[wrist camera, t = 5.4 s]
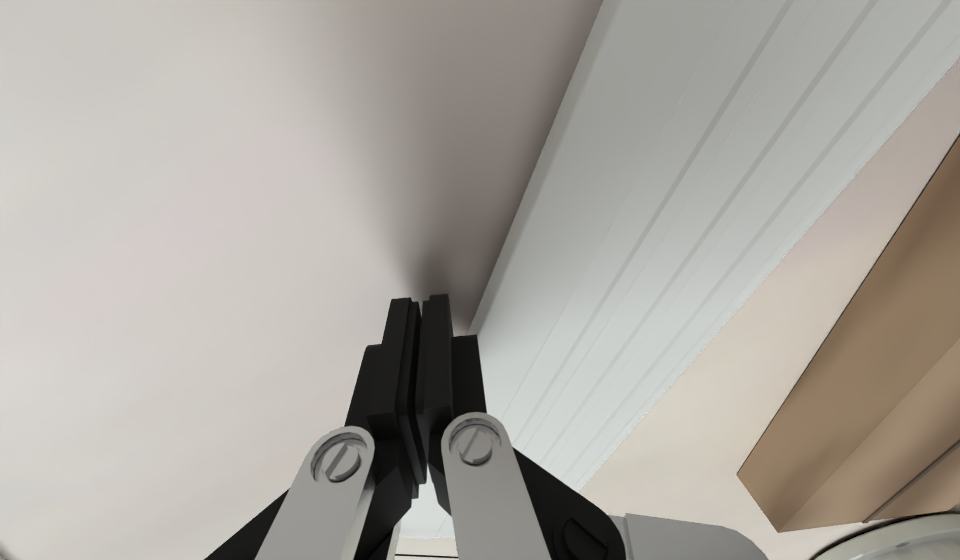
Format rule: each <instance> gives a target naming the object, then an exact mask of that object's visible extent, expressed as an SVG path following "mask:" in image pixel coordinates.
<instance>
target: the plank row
mask: <svg viewBox="0 0 960 560" xmlns="http://www.w3.org/2000/svg"><path fill="white" fill-rule="evenodd" d="M737 476H738V478H739V479H740V480H741V482H742V483H743V485H744V486H745V487H746V489H747V490H748V492H749V493H750V494H751V496H752V497H753V499H754V500H755V501H756V503H757V504H758V506H759V507H760V508H761V510H762V511H763V513H764V514H765V515H766V517H767V518H768V520H769V521H770V522H771V524H772V525H773V526H774V528H775V529H776V531H777V532H778V533H780V532H788V531H796V530H803V529H811V528H819V527H826V526H834V525H842V524H849V523H857V522H862V523H868V522H869V521H872V520H880V519H888V518H895V517H903V516H911V515H918V514H926V513H934V512H941V511H948V510H950V509H951V508H953V507H954V506H955V505H957V504H958V503H960V136H959V138H958V139H957V141H956V142H955V144H954V145H953V147H952V148H951V150H950V151H949V153H948V154H947V156H946V157H945V159H944V161H943V162H942V164H941V165H940V167H939V168H938V170H937V171H936V173H935V174H934V176H933V177H932V179H931V180H930V182H929V183H928V185H927V186H926V188H925V189H924V191H923V192H922V194H921V195H920V197H919V199H918V200H917V202H916V203H915V205H914V206H913V208H912V209H911V211H910V212H909V214H908V215H907V217H906V218H905V220H904V221H903V223H902V224H901V226H900V227H899V229H898V230H897V232H896V233H895V235H894V237H893V238H892V240H891V241H890V243H889V244H888V246H887V247H886V249H885V250H884V252H883V253H882V255H881V256H880V258H879V259H878V261H877V262H876V264H875V265H874V267H873V268H872V270H871V271H870V273H869V275H868V276H867V278H866V279H865V281H864V282H863V284H862V285H861V287H860V288H859V290H858V291H857V293H856V294H855V296H854V297H853V299H852V300H851V302H850V303H849V305H848V306H847V308H846V309H845V311H844V313H843V314H842V316H841V317H840V319H839V320H838V322H837V323H836V325H835V326H834V328H833V329H832V331H831V332H830V334H829V335H828V337H827V338H826V340H825V341H824V343H823V344H822V346H821V347H820V349H819V351H818V352H817V354H816V355H815V357H814V358H813V360H812V361H811V363H810V364H809V366H808V367H807V369H806V370H805V372H804V373H803V375H802V376H801V378H800V379H799V381H798V382H797V384H796V385H795V387H794V389H793V390H792V392H791V393H790V395H789V396H788V398H787V399H786V401H785V402H784V404H783V405H782V407H781V408H780V410H779V411H778V413H777V414H776V416H775V417H774V419H773V420H772V422H771V423H770V425H769V427H768V428H767V430H766V431H765V433H764V434H763V436H762V437H761V439H760V440H759V442H758V443H757V445H756V446H755V448H754V449H753V451H752V452H751V454H750V455H749V457H748V458H747V460H746V461H745V463H744V465H743V466H742V468H741V469H740V471H739V472H738V474H737Z"/></svg>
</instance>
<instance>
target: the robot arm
mask: <svg viewBox="0 0 960 560" xmlns="http://www.w3.org/2000/svg"><path fill="white" fill-rule="evenodd" d="M427 464H428V468H429V472H430V476H431V480H432V483H433V484H434V488H435V493H436V497H437V501H438V504H439V505H440V506H441V507H442V508H443V509H444V510H445V511H446V512H447V513H448V514H449V515H450V516H451V517H452V521H453V527H454V533H455V540H456V546H457V552H458V559H459V560H768V559H767V557H766V555H765V554H764V553H763V552H762V551H761V550H760V549H759V548H758V547H757V546H756V545H755V544H754V543H753V542H752V541H751V540H750V539H748V538H747V537H745V536H744V535H742V534H740V533H739V532H737V531H735V530H732V529H729V528H726V527H723V526H716V525H709V524H701V523H694V522H687V521H679V520H672V519H665V518H657V517H650V516H643V515H635V514H628V513H625V516H624V517H619V516H612V515H606V514H605V513H604V512H603V511H602V510H601V509H600V508H598V507H597V506H595V505H594V504H593V503H591V502H590V501H588V500H587V499H586V498H584V497H583V496H581V495H580V494H579V493H577V492H576V491H574V490H573V489H571V488H570V487H569V486H567V485H566V484H564V483H563V482H562V481H560V480H559V479H557V478H556V477H555V476H553V475H552V474H550V473H549V472H548V471H546V470H545V469H543V468H542V467H540V466H539V465H538V464H536V463H535V462H533V461H532V460H531V459H529V458H528V457H526V456H525V455H524V454H522V453H521V452H519V451H518V450H517V449H515V448H514V447H512V445H511V442H510V439H509V436H508V433H507V431H506V429H505V428H504V426H503V424H502V423H501V422H500V421H499V420H498V419H497V418H495V417H493V416H491V415H489V414H487V409H486V401H485V393H484V385H483V377H482V370H481V362H480V354H479V346H478V338H477V334H476V335H467V336H457V337H454V336H453V328H452V320H451V312H450V304H449V296H448V294H441V295H430V300H428V301H423V309H422V318H421V312H420V307H419V303H418V302H412V299H411V298H410V297H409V298H398V299H392V300H391V303H390V308H389V312H388V317H387V321H386V326H385V331H384V335H383V340H382V344H377V345H368V346H367V347H366V349H365V352H364V356H363V360H362V363H361V367H360V371H359V374H358V378H357V382H356V385H355V389H354V393H353V396H352V400H351V404H350V407H349V411H348V415H347V418H346V422H345V426H344V427H341V428H338V429H336V430H333V431H331V432H329V433H328V434H326V435H325V436H323V437H322V438H320V439H319V440H318V441H317V442H316V443H315V444H314V445H313V446H312V448H311V449H310V451H309V453H308V454H307V456H306V457H305V459H304V461H303V463H302V465H301V467H300V469H299V471H298V473H297V475H296V477H295V479H294V481H293V483H292V485H291V487H290V488H289V489H288V490H287V491H286V492H285V493H283V494H282V495H281V496H280V497H279V498H277V499H276V500H275V501H274V502H273V503H271V504H270V505H269V506H268V507H267V508H265V509H264V510H263V511H262V512H261V513H259V514H258V515H257V516H256V517H255V518H253V519H252V520H251V521H250V522H249V523H247V524H246V525H245V526H244V527H243V528H241V529H240V530H239V531H238V532H237V533H235V534H234V535H233V536H232V537H231V538H229V539H228V540H227V541H226V542H225V543H223V544H222V545H221V546H220V547H219V548H217V549H216V550H215V551H214V552H213V553H211V554H210V555H209V556H208V557H207V558H205V559H204V560H394V556H395V552H396V547H397V543H398V538H399V533H400V529H401V518H402V517H403V516H404V515H405V514H406V513H407V512H408V510H409V509H410V508H411V505H412V499H418V498H419V485H421V484H426V482H427ZM815 560H960V514H940V515H932V516H925V517H921V518H916V519H911V520H907V521H903V522H899V523H895V524H892V525H888V526H885V527H882V528H879V529H876V530H873V531H870V532H868V533H865V534H862V535H860V536H857V537H855V538H853V539H850V540H848V541H846V542H843V543H841V544H839V545H837V546H836V547H834V548H832V549H830V550H828V551H826V552H825V553H823V554H822V555H820V556H818V557H817V558H816V559H815Z"/></svg>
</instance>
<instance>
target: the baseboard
mask: <svg viewBox="0 0 960 560" xmlns="http://www.w3.org/2000/svg"><path fill="white" fill-rule="evenodd" d="M959 57H960V0H603V2H602V4H601V7H600V9H599V12H598V14H597V17H596V19H595V22H594V24H593V27H592V29H591V31H590V34H589V36H588V39H587V41H586V44H585V46H584V49H583V51H582V54H581V56H580V58H579V61H578V63H577V66H576V68H575V71H574V73H573V76H572V78H571V81H570V83H569V85H568V88H567V90H566V93H565V95H564V98H563V100H562V103H561V105H560V108H559V110H558V112H557V115H556V117H555V120H554V122H553V125H552V127H551V130H550V132H549V135H548V137H547V139H546V142H545V144H544V147H543V149H542V152H541V154H540V157H539V159H538V162H537V164H536V166H535V169H534V171H533V174H532V176H531V179H530V181H529V184H528V186H527V189H526V191H525V193H524V196H523V198H522V201H521V203H520V206H519V208H518V211H517V213H516V216H515V218H514V220H513V223H512V225H511V228H510V230H509V233H508V235H507V238H506V240H505V243H504V245H503V247H502V250H501V252H500V255H499V257H498V260H497V262H496V265H495V267H494V270H493V272H492V274H491V277H490V279H489V282H488V284H487V287H486V289H485V292H484V294H483V297H482V299H481V301H480V304H479V306H478V309H477V311H476V314H475V316H474V319H473V321H472V324H471V326H470V328H469V331H468V333H467V335H476V334H477V338H478V346H479V354H480V362H481V370H482V377H483V385H484V393H485V401H486V409H487V414H489V415H491V416H493V417H495V418H497V419H498V420H499V421H500V422H501V423H502V424H503V426H504V428H505V429H506V431H507V433H508V436H509V439H510V442H511V445H512V447H514V448H515V449H517V450H518V451H519V452H521V453H522V454H524V455H525V456H526V457H528V458H529V459H531V460H532V461H533V462H535V463H536V464H538V465H539V466H540V467H542V468H543V469H545V470H546V471H548V472H549V473H550V474H552V475H553V476H555V477H556V478H557V479H559V480H560V481H562V482H563V483H564V484H566V485H567V486H569V487H570V488H571V489H573V490H574V491H576V492H578V491H579V490H580V489H581V488H582V487H583V486H584V484H585V483H586V482H587V481H588V480H589V479H590V478H591V476H592V475H593V474H594V473H595V472H596V471H597V470H598V469H599V467H600V466H601V465H602V464H603V463H604V462H605V461H606V459H607V458H608V457H609V456H610V455H611V454H612V453H613V451H614V450H615V449H616V448H617V447H618V446H619V445H620V443H621V442H622V441H623V440H624V439H625V438H626V437H627V435H628V434H629V433H630V432H631V431H632V430H633V429H634V428H635V426H636V425H637V424H638V423H639V422H640V421H641V420H642V418H643V417H644V416H645V415H646V414H647V413H648V412H649V410H650V409H651V408H652V407H653V406H654V405H655V404H656V402H657V401H658V400H659V399H660V398H661V397H662V396H663V394H664V393H665V392H666V391H667V390H668V389H669V388H670V386H671V385H672V384H673V383H674V382H675V381H676V380H677V379H678V377H679V376H680V375H681V374H682V373H683V372H684V371H685V369H686V368H687V367H688V366H689V365H690V364H691V363H692V361H693V360H694V359H695V358H696V357H697V356H698V355H699V353H700V352H701V351H702V350H703V349H704V348H705V347H706V345H707V344H708V343H709V342H710V341H711V340H712V339H713V337H714V336H715V335H716V334H717V333H718V332H719V331H720V330H721V328H722V327H723V326H724V325H725V324H726V323H727V322H728V320H729V319H730V318H731V317H732V316H733V315H734V314H735V312H736V311H737V310H738V309H739V308H740V307H741V306H742V304H743V303H744V302H745V301H746V300H747V299H748V298H749V296H750V295H751V294H752V293H753V292H754V291H755V290H756V288H757V287H758V286H759V285H760V284H761V283H762V282H763V281H764V279H765V278H766V277H767V276H768V275H769V274H770V273H771V271H772V270H773V269H774V268H775V267H776V266H777V265H778V263H779V262H780V261H781V260H782V259H783V258H784V257H785V255H786V254H787V253H788V252H789V251H790V250H791V249H792V247H793V246H794V245H795V244H796V243H797V242H798V241H799V240H800V238H801V237H802V236H803V235H804V234H805V233H806V232H807V230H808V229H809V228H810V227H811V226H812V225H813V224H814V222H815V221H816V220H817V219H818V218H819V217H820V216H821V214H822V213H823V212H824V211H825V210H826V209H827V208H828V206H829V205H830V204H831V203H832V202H833V201H834V200H835V198H836V197H837V196H838V195H839V194H840V193H841V192H842V191H843V189H844V188H845V187H846V186H847V185H848V184H849V183H850V181H851V180H852V179H853V178H854V177H855V176H856V175H857V173H858V172H859V171H860V170H861V169H862V168H863V167H864V165H865V164H866V163H867V162H868V161H869V160H870V159H871V157H872V156H873V155H874V154H875V153H876V152H877V151H878V149H879V148H880V147H881V146H882V145H883V144H884V143H885V142H886V140H887V139H888V138H889V137H890V136H891V135H892V134H893V132H894V131H895V130H896V129H897V128H898V127H899V126H900V124H901V123H902V122H903V121H904V120H905V119H906V118H907V116H908V115H909V114H910V113H911V112H912V111H913V110H914V108H915V107H916V106H917V105H918V104H919V103H920V102H921V100H922V99H923V98H924V97H925V96H926V95H927V94H928V93H929V91H930V90H931V89H932V88H933V87H934V86H935V85H936V83H937V82H938V81H939V80H940V79H941V78H942V77H943V75H944V74H945V73H946V72H947V71H948V70H949V69H950V67H951V66H952V65H953V64H954V63H955V62H956V61H957V59H958V58H959ZM399 537H404V538H421V539H434V538H435V537H438V538H453V539H454V540H455V533H454V527H453V521H452V517H451V516H450V515H449V514H448V513H447V512H446V511H445V510H444V509H443V508H442V507H441V506H440V505H439V504H438V501H437V497H436V493H435V488H434V484H433V483H432V480H431V476H430V472H429V468H428V464H427V482H426V484H421V485H419V498H418V499H412V505H411V508H410V509H409V510H408V512H407V513H406V514H405V515H404V516H403V517H402V518H401V529H400V533H399ZM395 556H416V557H439V558H458V557H450V556H428V555H407V554H395Z"/></svg>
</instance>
